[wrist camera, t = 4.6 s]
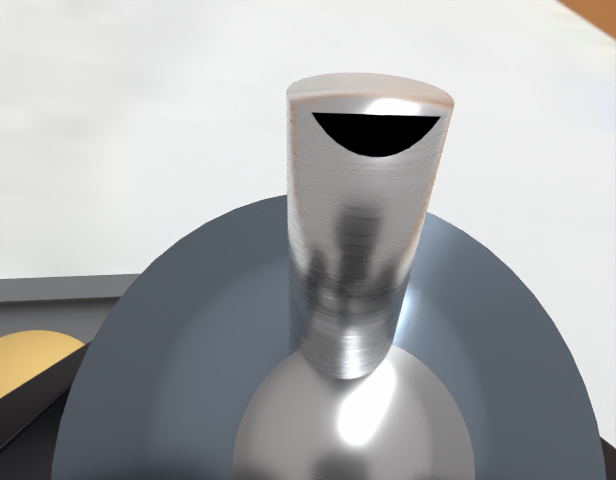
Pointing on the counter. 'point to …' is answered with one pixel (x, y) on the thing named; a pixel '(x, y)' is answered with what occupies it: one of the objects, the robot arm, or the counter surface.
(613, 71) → the counter surface
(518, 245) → the counter surface
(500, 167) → the counter surface
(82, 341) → the tray
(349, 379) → the spout can
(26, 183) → the counter surface
